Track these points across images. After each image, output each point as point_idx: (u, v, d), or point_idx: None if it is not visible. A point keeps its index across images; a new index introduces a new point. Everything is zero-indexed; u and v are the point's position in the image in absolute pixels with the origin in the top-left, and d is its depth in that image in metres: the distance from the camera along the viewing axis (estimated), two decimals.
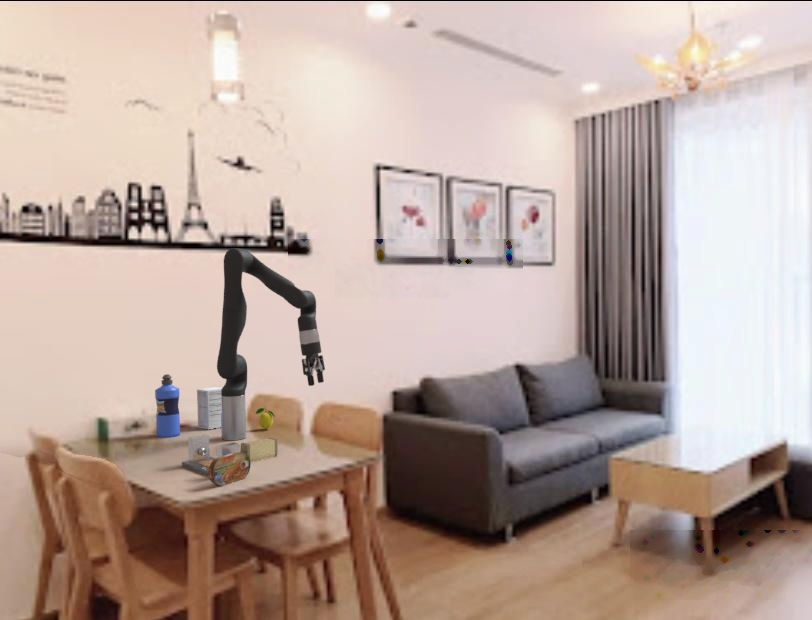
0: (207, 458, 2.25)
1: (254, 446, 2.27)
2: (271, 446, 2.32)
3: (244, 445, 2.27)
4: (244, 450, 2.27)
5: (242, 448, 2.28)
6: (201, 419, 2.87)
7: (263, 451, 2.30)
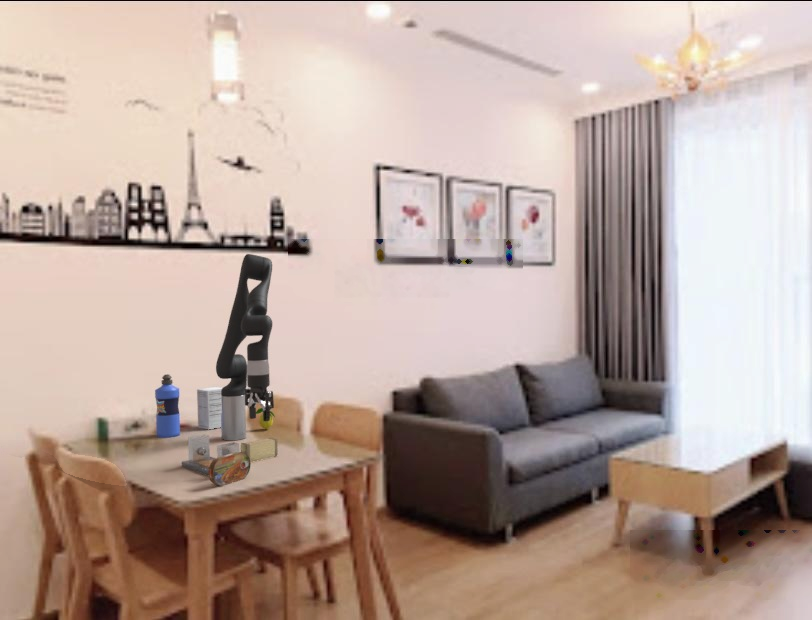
0: (207, 458, 2.25)
1: (254, 446, 2.27)
2: (271, 446, 2.32)
3: (244, 445, 2.27)
4: (244, 450, 2.27)
5: (242, 448, 2.28)
6: (201, 419, 2.87)
7: (263, 451, 2.30)
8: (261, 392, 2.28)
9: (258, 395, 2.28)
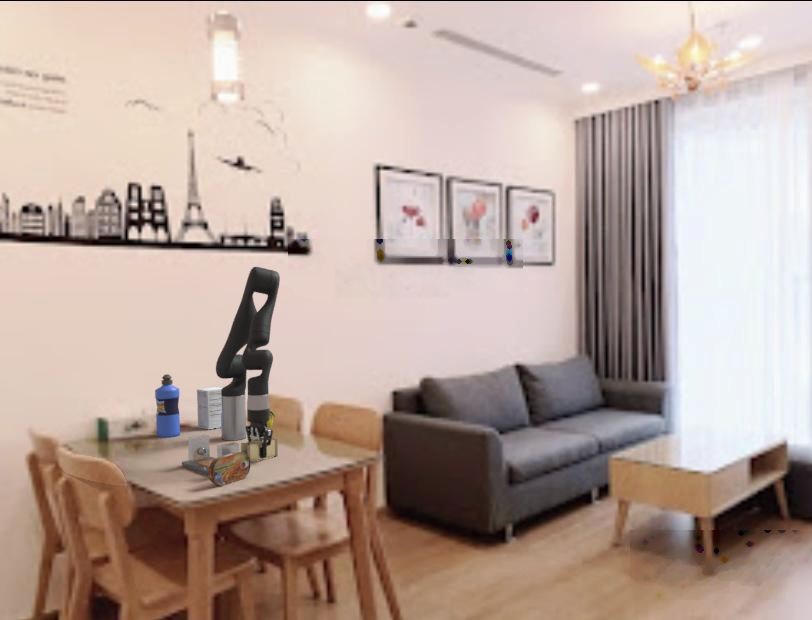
0: (207, 458, 2.25)
1: (254, 446, 2.27)
2: (271, 446, 2.32)
3: (244, 445, 2.27)
4: (244, 450, 2.27)
5: (242, 448, 2.28)
6: (201, 419, 2.87)
7: None
8: (261, 427, 2.28)
9: (258, 431, 2.28)
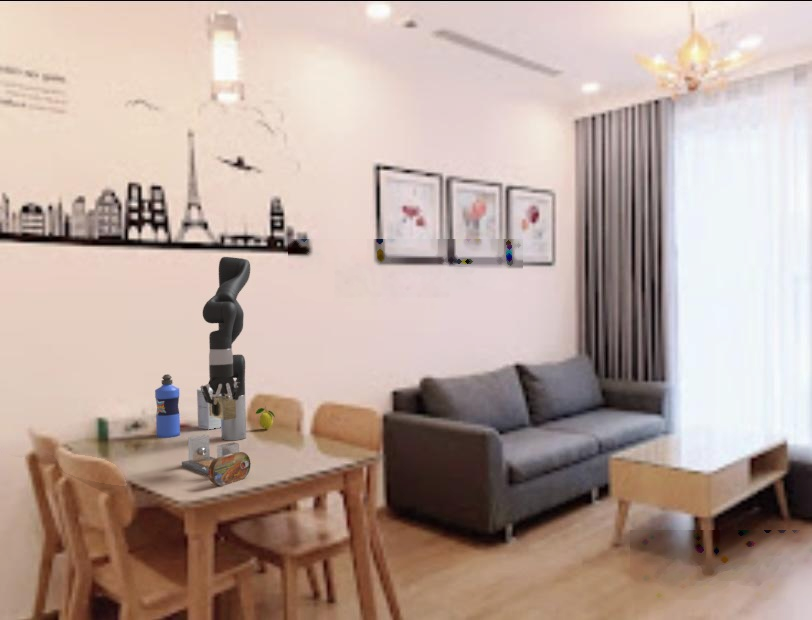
0: (207, 458, 2.25)
1: None
2: None
3: (230, 401, 2.15)
4: (230, 406, 2.15)
5: (226, 405, 2.14)
6: (201, 419, 2.87)
7: None
8: (232, 381, 2.20)
9: None
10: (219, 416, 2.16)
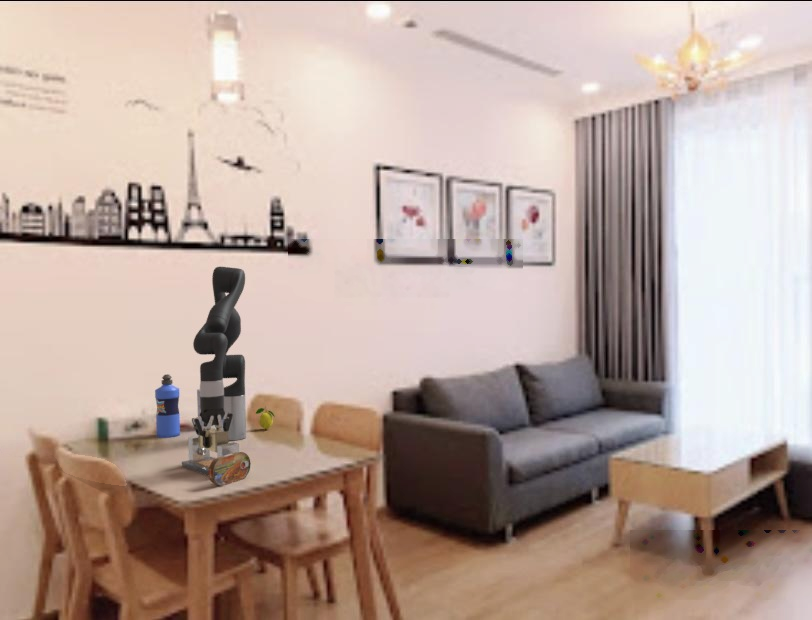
0: (207, 458, 2.25)
1: None
2: None
3: (223, 433, 2.13)
4: (223, 438, 2.13)
5: (219, 438, 2.13)
6: None
7: None
8: (223, 412, 2.19)
9: None
10: (211, 448, 2.15)
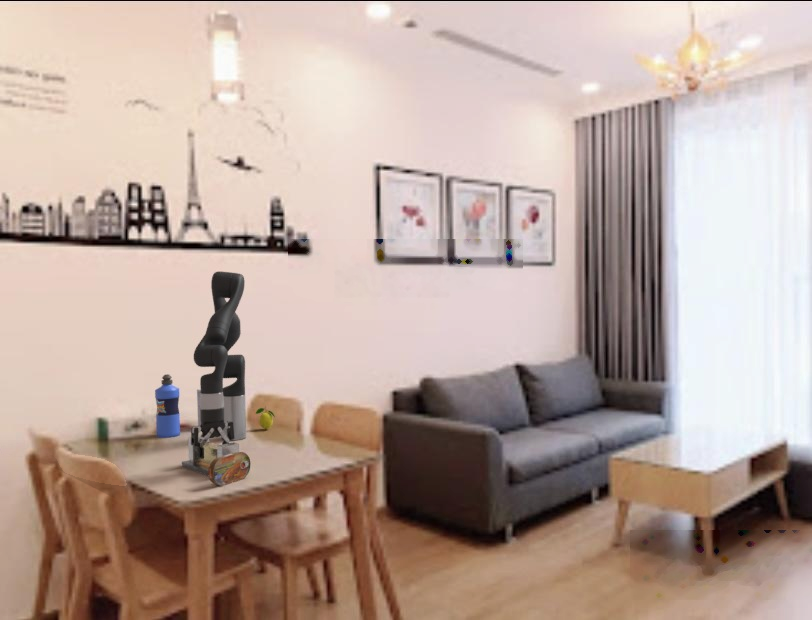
0: None
1: None
2: None
3: None
4: None
5: None
6: None
7: None
8: (223, 424, 2.19)
9: None
10: None
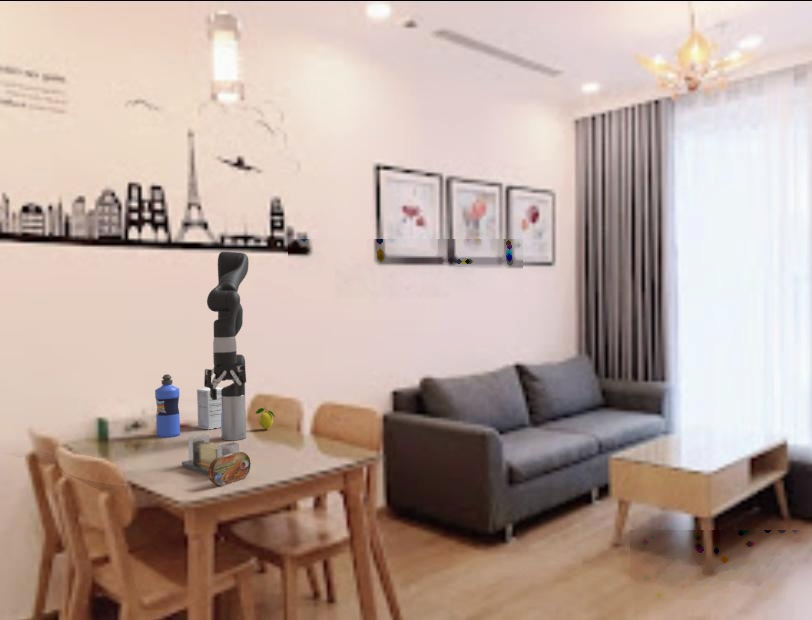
0: None
1: None
2: None
3: None
4: None
5: None
6: (201, 419, 2.87)
7: None
8: (235, 368, 2.26)
9: None
10: None
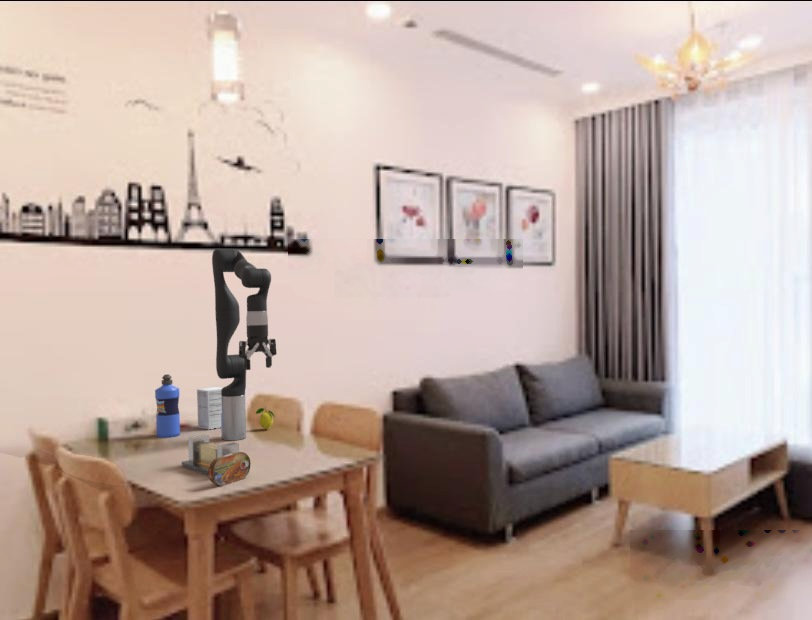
0: None
1: None
2: None
3: None
4: None
5: None
6: (201, 419, 2.87)
7: None
8: (267, 340, 2.43)
9: None
10: None
